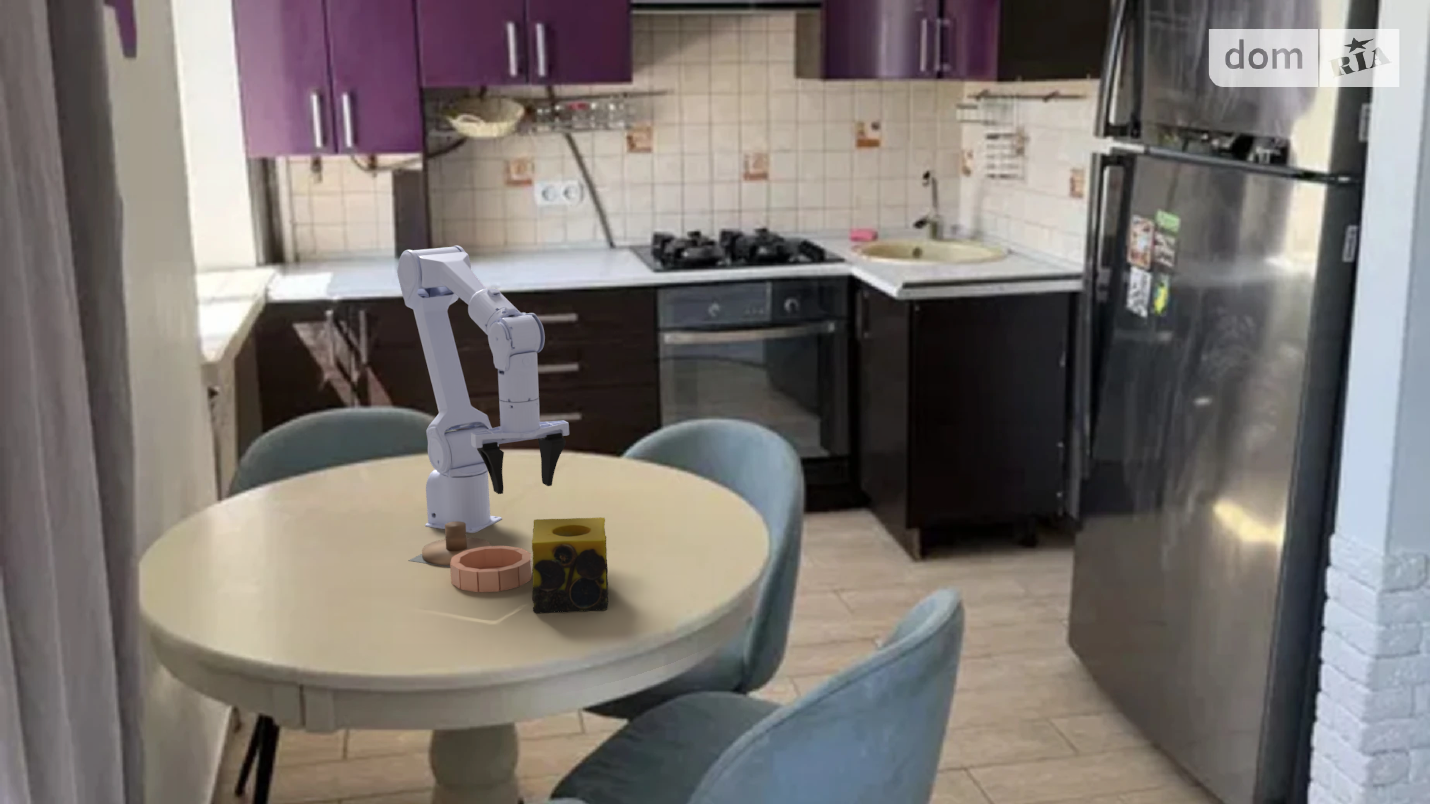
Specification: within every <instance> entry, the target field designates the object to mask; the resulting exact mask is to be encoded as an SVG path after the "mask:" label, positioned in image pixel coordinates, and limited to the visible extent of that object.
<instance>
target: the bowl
mask: <svg viewBox="0 0 1430 804" xmlns="http://www.w3.org/2000/svg"><path fill="white" fill-rule="evenodd" d="M449 568H450V583H451V584H452V586H455V587H456V588H458V589H459V590H463V591H468V592H475V593H489V592H490V593H492V592H493V593H494V592H503V591H508V590H511V589H515V588H520V587H521V586H523V585H526V583H528V582H530V581H531V580H532V577H533V571H532V568H533V563H532V553H531V552H530V551H527V550H526V549H524V548H523V547H517V546H509V545H491V546H484V547H478V548H474V549H469V550H465V551H463V552H461V553H459V554H457V555H455V556H453V557H452V559H451V562H450V567H449Z"/></svg>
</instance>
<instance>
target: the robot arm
mask: <svg viewBox="0 0 1430 804" xmlns="http://www.w3.org/2000/svg"><path fill="white" fill-rule="evenodd" d="M471 267H472V266H471V259H470V256H469V253H467V252H466V251H465V249H464V248H463V247H462V246H460V245H452V246H449V247H448V246H446V247H437V248H424V249H414V250H413V249H406V250H404V251H403V252H402V253H401V255H400V257H399V260H398V265H397V272H396V273H397V279H398V283H399V287H400V290H401V293H402V294H401V295H402V298H403V300H404V305H405V306H406V307H407V308H410V309H412V310H413V314H414V318H415V322H416V326H417V329H418V334H419V339H420V342H421V345H422V350H423V354H424V359H425V362H426V365H427V369H428V374H429V378H430V382H431V385H432V390H433V394H434V398H435V403H436V406H437V410H438V414H437V415H436V416H435V417H434V419H433V420H432V421H431V422H430V423H429V425H428V427H427V429H426V430H425V432H426V438H427V455H428V459H429V462H430V464H431V467H432V468H433V470H432V471H431V472H430V473H429V475H428V477H427V480H426V484H425V495H426V496H425V497H426V498H425V499H426V508H427V509H426V511H427V512H426V513H427V514H426V515H427V522H426V523H425V525H424V526H425V527H427V528H433V529H434V528H435V529H443V530H445V524H447V523H449V522H456V521H460V522H464V523H466V533H470V534H474V533H477V532H479V531H481V530H484V529H486V528H488V527H489V526H491V525H494V524H496V523H498V522H500V521H502V520H503V518H502V517H501V516H496V515H491V504H490V487H489V486H490V485H489V484H490V483H489V479H490V481H491V485H492V488H493V492H494V493H496V494H497V495H501V494H503V495H504V479H503V478H504V477H503V467H504V466H503V464H504V457H505V456H504V455H505V452H504V451H503V450H502V449H501V448H500V446H499V445H501V444H507V443H514V442H523V441H529V440H535V439H537V441H538V446H539V453H540V462H541V464H540V468H541V470H540V471H541V472H540V474H541V483H542V484H543V485H545V486H547V487H551V486H553V480H554V475H555V471H556V467H557V464H558V461H559V459H560V456H561V454H562V452H563V451H564V449H565V447H566V438H564V436H569V435H570V425H569V422H568V421H566V420H564V419H563V420H552V421H551V420H550V421H541V420H540V419H541V418H540V397H539V396H540V393H539V392H540V391H539V388H540V387H539V365H538V353H540V352H541V351H542V350H543V348H544V346H545V342H546V341H545V339H546V336H545V335H546V334H545V330H544V325H543V323H542V321H541V320H540V318H539V317H538V315H537V314H536V313H534V312H529V313H526V311H525V312H524V311H523V312H521V311H520V310H518V308H517V307H516V306H514V304H513V303H511V301H509V300H508V298H506V296H504V294H503V293H502V292H501V291H500V289H498V288H496V287H495V288H492V287H488V288H486V287H485V285H484V284H483V283H482V282H481V280H480V279H479V278H478V277H477V275H476V274H475V273H474V271H473V270H472V268H471ZM459 299H460V300H462V301H463V302H464V303H465V304H467V305H468V306H467V312H468V315H469V318H471V320H472V321H473V322H474V323H475V324H476V325H477V326H478V327H479V328H480V329H481V330H482V331H483V332H484V334H485V335H487V340H488V344H489V349H490V350H491V354H492V356H493V358H492V359H493V365H494V368H495V369H497V381H498V398H499V399H498V401H499V419H500V420H499V424H500V426H496V427H495V426H494V427H492V425H491V421H490V420H489V416H488V414H486V413H484V412H483V411H481V410H478V409H477V408H475V407H474V406H473V405H472V404H471V400H470V397H469V392H468V389H467V384H466V381H465V377H464V372H463V369H462V365H461V361H460V357H459V353H458V349H457V345H456V342H455V337H454V333H453V329H452V326H451V321H450V318H449V313H448V310H449V307H450V306H451V305H453V304H454V303H456V301H458V300H459ZM489 477H490V478H489Z"/></svg>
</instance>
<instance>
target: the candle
mask: <svg viewBox="0 0 1430 804" xmlns="http://www.w3.org/2000/svg"><path fill="white" fill-rule="evenodd" d="M605 523H606V518H605V517H599V516H598V517H581V518H580V517H578V518H577V517H575V518H572V517H571V518H546V519H544V518H543V519H540V518H539V519H538V518H537V519H533V529H532V533H533V534H532V540H531V550H532V551H531V552H532V578H533V579H532V595H531V598H532V603H533V607H532V612H533V613H536V614H544V613H546V614H549V613H550V614H551V613H576V612H587V611H589V612H590V611H606V610H607V609H608V606H609V590H608V589H609V587H608V586H609V578H608V574H609V573H608V569H609V568H608V560H607V558H608V556H607V554H608V553H607V551H608V549H607V535H606V528H605Z"/></svg>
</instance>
